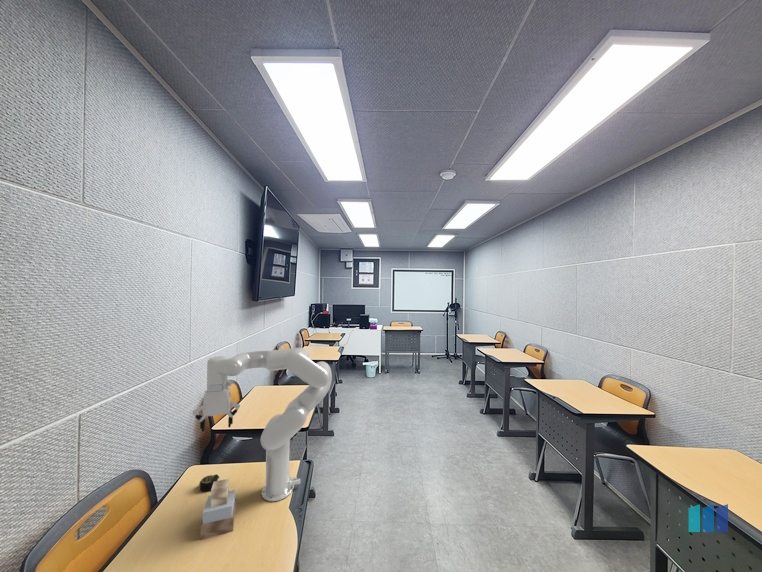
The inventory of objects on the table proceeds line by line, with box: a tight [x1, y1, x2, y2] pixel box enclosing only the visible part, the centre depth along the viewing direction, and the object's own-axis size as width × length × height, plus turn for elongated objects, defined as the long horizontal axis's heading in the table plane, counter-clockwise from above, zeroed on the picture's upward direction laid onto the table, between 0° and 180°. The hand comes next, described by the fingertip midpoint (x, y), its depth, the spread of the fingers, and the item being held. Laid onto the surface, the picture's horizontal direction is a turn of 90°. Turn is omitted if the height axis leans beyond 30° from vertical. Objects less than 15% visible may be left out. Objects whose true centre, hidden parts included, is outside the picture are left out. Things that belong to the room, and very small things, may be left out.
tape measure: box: [199, 474, 220, 492], centre depth 127 cm, size 7×7×4 cm
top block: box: [202, 489, 236, 524], centre depth 106 cm, size 9×9×4 cm
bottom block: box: [200, 498, 237, 541], centre depth 106 cm, size 10×10×5 cm
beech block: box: [210, 478, 230, 507], centre depth 106 cm, size 5×5×6 cm
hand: (216, 428), depth 121 cm, fingers open, 9 cm apart
